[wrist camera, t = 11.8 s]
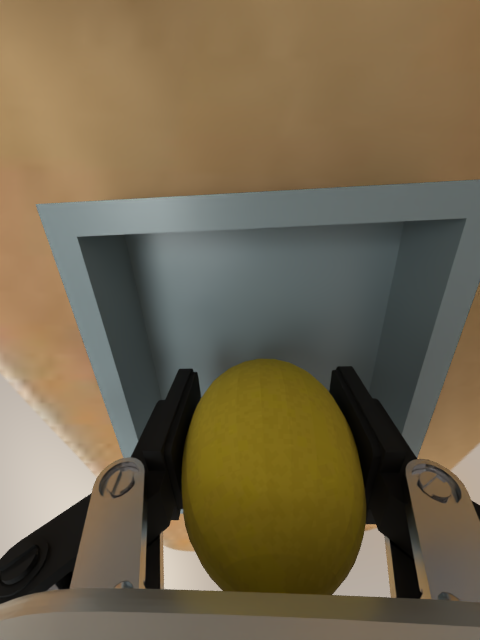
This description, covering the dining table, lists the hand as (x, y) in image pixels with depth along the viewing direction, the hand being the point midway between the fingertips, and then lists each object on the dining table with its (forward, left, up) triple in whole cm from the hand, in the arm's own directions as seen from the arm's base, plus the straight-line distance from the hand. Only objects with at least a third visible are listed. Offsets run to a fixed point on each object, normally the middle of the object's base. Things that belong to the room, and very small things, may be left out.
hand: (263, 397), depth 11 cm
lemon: (0, 0, -2) cm, 2 cm away
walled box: (0, 0, -4) cm, 4 cm away
